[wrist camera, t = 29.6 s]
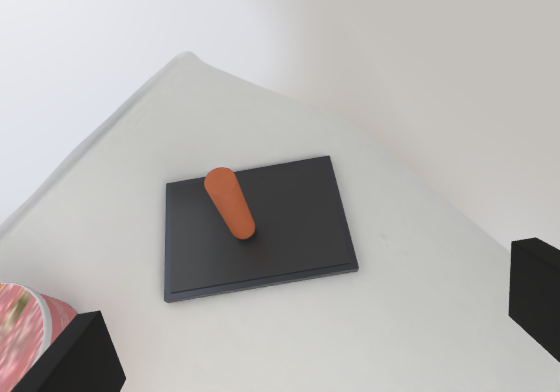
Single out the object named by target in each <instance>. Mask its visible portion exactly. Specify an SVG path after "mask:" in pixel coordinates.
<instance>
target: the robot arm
mask: <svg viewBox="0 0 560 392" xmlns="http://www.w3.org/2000/svg"><path fill="white" fill-rule="evenodd" d="M509 316H510V317H511V318H512V319H513V320H514V321H515V322H516V323H517V324H518V325H519V326H521V327H522V328H523V329H524V330H525V331H526V332H527V333H528V334H529V335H530V336H531V337H532V338H534V339H535V340H536V341H537V342H538V343H539V344H540V345H541V346H542V347H543V348H544V349H546V350H547V351H548V352H549V353H550V354H551V355H552V356H553V357H554V358H555V359H556V360H558V361H559V362H560V250H558V249H557V248H555V247H553V246H551V245H549V244H547V243H545V242H543V241H542V240H539V239H538V238H530V239H524V240H518V241H512V243H511V267H510V292H509ZM125 380H126V377H125V374H124V371H123V369H122V366H121V363H120V361H119V358H118V356H117V353H116V350H115V348H114V345H113V343H112V340H111V337H110V335H109V332H108V330H107V327H106V324H105V322H104V319H103V316H102V314H101V311H95V312H89V313H83V314H77V315H76V316H75V317H74V318H73V319H72V321H71V322H70V323H69V324H68V325H67V326H66V327H65V329H64V330H63V331H62V332H61V333H60V334H59V336H58V337H57V338H56V339H55V340H54V341H53V343H52V344H51V345H50V346H49V347H48V348H47V350H46V351H45V352H44V353H43V354H42V355H41V356H40V358H39V359H38V360H37V361H36V362H35V363H34V365H33V366H32V367H31V368H30V369H29V370H28V372H27V373H26V374H25V375H24V376H23V377H22V379H21V380H20V381H19V382H18V383H17V384H16V385H15V387H14V388H13V389H12V390H11V391H10V392H120V390H121V388H122V386H123V384H124V382H125Z"/></svg>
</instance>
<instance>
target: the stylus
mask: <svg viewBox="0 0 560 392" xmlns="http://www.w3.org/2000/svg"><path fill="white" fill-rule="evenodd" d="M204 186H205V189H206V191H207V192H208V194H209V196H210V197H211V199H212V201H213V202H214V204H215V206H216V207H217V209H218V211H219V212H220V214H221V216H222V217H223V219H224V221H225V222H226V224H227V226H228V227H229V229H230V231H231V232H232V234H233V235H234V236H235V237H236V238H238V239H239V240H243V241H245V240H249V239H250V238H252V237H253V235H254V233H255V223H254V220H253V218H252V216H251V213H250V211H249V208H248V206H247V203H246V201H245V198H244V196H243V193H242V191H241V188H240V186H239V183H238V181H237V178H236V176H235V174H234V172H233V171H231V170H230V169H228V168H216V169H214V170H212V171H211V172H209V173H208V175H207V176H206V178H205V181H204Z"/></svg>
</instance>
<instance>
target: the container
mask: <svg viewBox="0 0 560 392" xmlns="http://www.w3.org/2000/svg"><path fill="white" fill-rule="evenodd" d="M76 315H77V312H76V311H75V310H74V309H73V308H72V307H71V306H70V305H68V304H66V303H64V302H62V301H59V300H57V299H54V298H51V297H48V296H45V295H43V294H40V293H38V292H36V291H35V290H33V289H31V288H30V287H27V286H23V285H19V284H15V283H0V392H10V391H11V390H12V389H13V388H14V387H15V385H16V384H17V383H18V382H19V381H20V380H21V379H22V377H23V376H24V375H25V374H26V373H27V372H28V370H29V369H30V368H31V367H32V366H33V365H34V363H35V362H36V361H37V360H38V359H39V358H40V356H41V355H42V354H43V353H44V352H45V351H46V350H47V348H48V347H49V346H50V345H51V344H52V343H53V341H54V340H55V339H56V338H57V337H58V336H59V334H60V333H61V332H62V331H63V330H64V329H65V327H66V326H67V325H68V324H69V323H70V322H71V321H72V319H73V318H74V317H75V316H76Z"/></svg>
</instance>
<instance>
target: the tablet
mask: <svg viewBox="0 0 560 392" xmlns="http://www.w3.org/2000/svg"><path fill="white" fill-rule="evenodd" d="M234 174H235V176H236V178H237V181H238V183H239V186H240V188H241V191H242V193H243V196H244V198H245V201H246V203H247V206H248V208H249V211H250V213H251V216H252V218H253V220H254V223H255V233H254V235H253V237H252V238H250V239H249V240H245V241H243V240H239V239H238V238H236V237H235V236H234V235H233V234H232V232H231V231H230V229H229V227H228V226H227V224H226V222H225V221H224V219H223V217H222V216H221V214H220V212H219V211H218V209H217V207H216V206H215V204H214V202H213V201H212V199H211V197H210V196H209V194H208V192H207V191H206V189H205V186H204V181H205V178H206V177H202V178H196V179H190V180H184V181H179V182H173V183H167V184H166V234H165V289H164V301H165V302H167V303H171V302H177V301H183V300H189V299H195V298H201V297H207V296H213V295H219V294H225V293H231V292H237V291H243V290H249V289H255V288H260V287H266V286H272V285H278V284H284V283H290V282H296V281H302V280H308V279H314V278H320V277H326V276H332V275H338V274H344V273H350V272H356V271H358V269H359V267H358V263H357V259H356V255H355V251H354V248H353V244H352V240H351V236H350V232H349V228H348V225H347V221H346V217H345V213H344V209H343V205H342V201H341V198H340V194H339V190H338V186H337V182H336V178H335V175H334V171H333V167H332V163H331V159H330V156H324V157H318V158H312V159H306V160H301V161H295V162H289V163H283V164H277V165H272V166H266V167H260V168H254V169H248V170H242V171H237V172H234Z"/></svg>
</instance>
